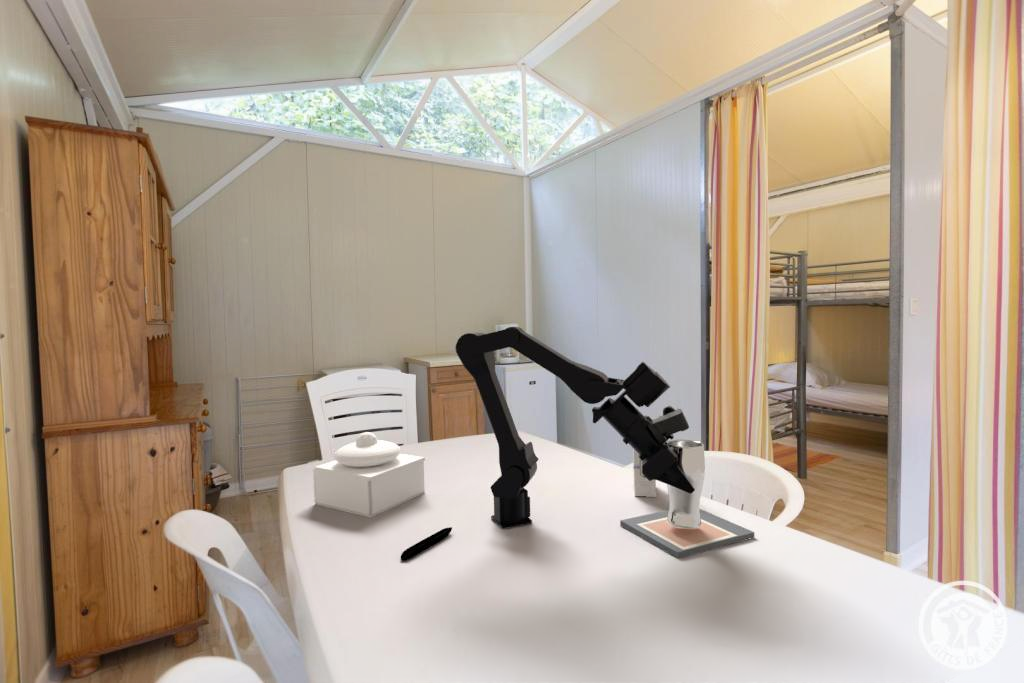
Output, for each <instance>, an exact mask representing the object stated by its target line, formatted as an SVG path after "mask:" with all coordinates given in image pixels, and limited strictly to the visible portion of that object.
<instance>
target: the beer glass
mask: <svg viewBox="0 0 1024 683" xmlns="http://www.w3.org/2000/svg"><path fill="white" fill-rule="evenodd" d="M666 442H667V445H669V446H670V447H671V448H672V449H673V451H674V452H675V453H677V455H678V466H679V468H680V469H681V470H682V472H683V473H684V475H685V476H686V477H687V479H688V480H689V482H690V483H691V484H692V486H693V487H694V489H695V491H694V492H693V493H691V494H690V493H687V492H685V491H683V490H680V489H678V488H676V487H673V486H671V485H668V484H666V486H667V491H668V498H669V500H668V502H669V503H668V504H669V505H668V507H669V508H668V510H669V512H668V517H667V523H668V524H669V525H671V526H673V527H675V528H679V529H685V530H694V529H698V528H700V527H701V517H700V511H699V509H700V502H701V497H702V496H701V495H702V492H703V486H704V481H705V470H706V463H705V462H706V461H705V460H706V458H705V444H704V443H702V442H701V441H696V440H692V439H672V440H671V439H668V440H667V441H666Z"/></svg>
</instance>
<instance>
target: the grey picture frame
mask: <svg viewBox="0 0 1024 683" xmlns="http://www.w3.org/2000/svg"><path fill="white" fill-rule="evenodd" d="M699 511H700V517H701V527H700V528H698V529H694V530H685V529H679V528H675V527H673V526H671V525H669V524H668V523H667V517H668V512H669V509H666V510H661V511H658V512H652V513H647V514H644V515H640V516H635V517H630V518H625V519H621V520H620V522H619V523H620V527H622V526H623V528H624V529H625V530H628V531H629V532H631V533H633V534H634V535H636V534H637V535H636V536H638V537H640V538H641V537H642V538H641V539H643V538H644V539H643V540H645V539H646V540H645V541H647V542H648V541H649V542H648V543H650V542H651V543H650V544H652V545H653V546H655V547H657V548H659V549H661V550H663V551H664V552H666V553H668V554H670V555H671V556H672V557H675V558H677V559H681V558H684V557H687V556H691V554H692V555H694V554H699V553H702V552H706V550H707V551H710V550H713V548H714V549H718V548H721V547H725V546H728V545H727V544H729V545H732V543H733V544H735V542H736V543H739V542H738V541H740V542H743V541H742V540H744V541H746V540H745V539H747V540H750V539H749V538H751V539H754V538H755V532H754V531H752V530H750V529H748V528H745V527H743V526H741V525H738V524H736V523H734V522H731V521H729V520H728V519H724V518H722V517H720V516H717V515H716V514H713V513H710V512H709V511H705V510H703V509H701V508H699ZM753 537H754V538H753ZM724 545H725V546H724ZM720 546H721V547H720ZM717 547H718V548H717ZM709 549H710V550H709Z"/></svg>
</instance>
